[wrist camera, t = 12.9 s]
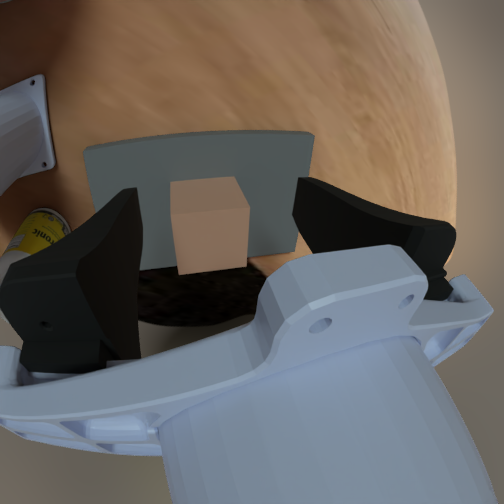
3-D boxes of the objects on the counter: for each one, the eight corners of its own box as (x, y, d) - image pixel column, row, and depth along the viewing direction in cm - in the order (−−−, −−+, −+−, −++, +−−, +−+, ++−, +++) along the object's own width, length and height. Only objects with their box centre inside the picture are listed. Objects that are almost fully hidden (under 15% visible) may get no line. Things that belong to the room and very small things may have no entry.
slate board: (115, 264, 25) (114, 273, 24) (87, 146, 17) (82, 151, 16) (290, 244, 29) (294, 251, 28) (308, 131, 21) (314, 135, 20)
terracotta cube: (176, 235, 23) (179, 274, 19) (170, 181, 20) (170, 214, 16) (232, 228, 24) (246, 266, 20) (234, 176, 21) (250, 207, 17)
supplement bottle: (82, 242, 22) (58, 327, 15) (45, 260, 22) (17, 340, 14) (53, 195, 18) (8, 273, 11) (16, 219, 18) (-28, 295, 11)
